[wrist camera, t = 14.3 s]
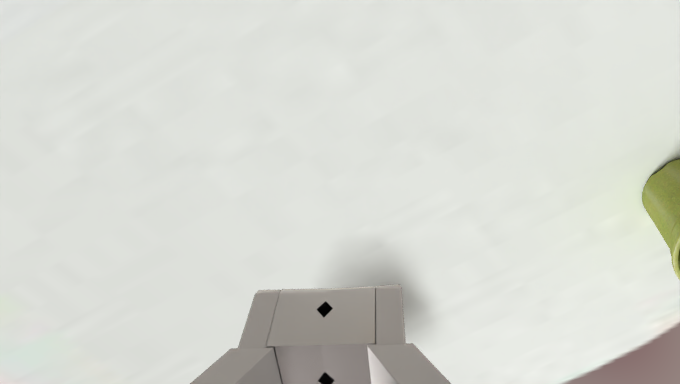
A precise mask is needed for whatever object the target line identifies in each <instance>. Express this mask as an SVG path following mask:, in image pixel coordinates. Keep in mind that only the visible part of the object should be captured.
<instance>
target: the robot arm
mask: <svg viewBox="0 0 680 384" xmlns="http://www.w3.org/2000/svg"><path fill="white" fill-rule="evenodd" d="M190 384H451V383H450V382H449V381H448V380H447V379H446V378H445V377H444V376H443V375H442V374H441V372H440V371H439V370H438V369H437V368H436V367H435V366H434V365H433V364H432V363H431V362H430V361H429V360H428V359H427V358H426V357H425V356H424V355H423V354H422V352H421V351H420V350H419V349H418V348H417V347H416V346H415V345H414V344H406V342H405V329H404V315H403V301H402V287H401V286H400V284H398V285H382V286H374V287H353V288H331V289H282V290H259V291H258V292H257V293H256V294H255V295H254V299H253V302H252V305H251V308H250V311H249V314H248V318H247V321H246V324H245V327H244V330H243V333H242V336H241V340H240V343H239V346H238V348H235V349H230V350H229V351H227V352H226V353H225V354H224V355H223V356H222V357H220V358H219V359H218V360H217V361H216V362H215V363H213V364H212V365H211V366H210V367H209V368H208V369H207V370H205V371H204V372H203V373H202V374H201V375H200V376H198V377H197V378H196V379H195V380H194V381H193V382H191V383H190Z"/></svg>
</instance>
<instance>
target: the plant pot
mask: <svg viewBox="0 0 680 384" xmlns="http://www.w3.org/2000/svg"><path fill="white" fill-rule="evenodd" d="M642 202H643V205H644V207H645V209H646V211H647V212H648V214H649V215H650V217H651V219H652V220H653V222H654V223H655V225H656V227H657V228H658V230H659V232H660V233H661V235H662V237H663V238H664V240H665V242H666V243H667V245H668V247H669V248H670V252H671V256H672V265H673V268H674V271H675V273H676V275H677V277H678V278H679V280H680V159H678V160H674V161H672V162H669V163H668V164H666V165H665V166H664V168H662V169H661V170H660V171H659V172H657V173H655V174H654V175H652V176H651V177H650V178H649V179H648V181H647V183H646V184H645V187H644V189H643V193H642Z"/></svg>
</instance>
